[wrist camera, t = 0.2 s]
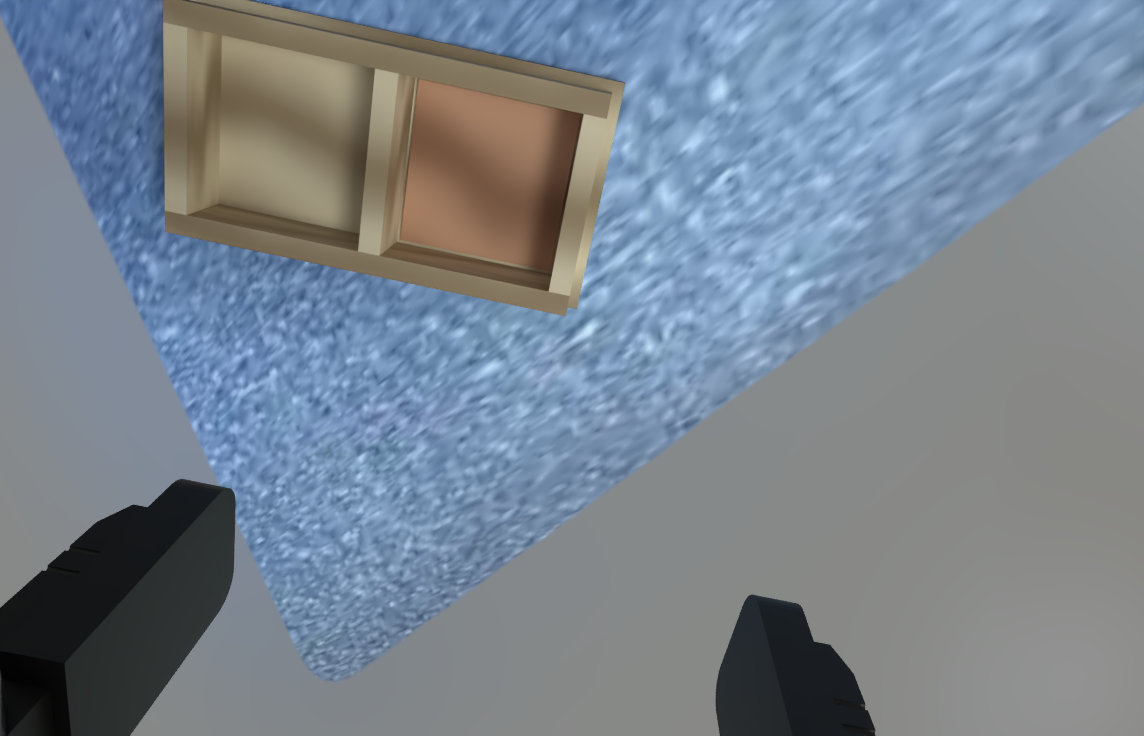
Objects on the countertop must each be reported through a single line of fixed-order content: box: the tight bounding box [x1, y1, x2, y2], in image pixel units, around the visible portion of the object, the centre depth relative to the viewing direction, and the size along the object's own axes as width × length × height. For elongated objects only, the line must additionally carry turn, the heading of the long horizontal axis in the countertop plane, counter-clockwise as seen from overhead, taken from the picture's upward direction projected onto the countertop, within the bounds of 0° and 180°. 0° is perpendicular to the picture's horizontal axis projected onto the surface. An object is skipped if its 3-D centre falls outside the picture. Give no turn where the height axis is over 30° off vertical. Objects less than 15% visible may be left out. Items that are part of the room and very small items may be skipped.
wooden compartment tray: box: [163, 0, 625, 316], centre depth 35 cm, size 11×20×4 cm, turn 79°
